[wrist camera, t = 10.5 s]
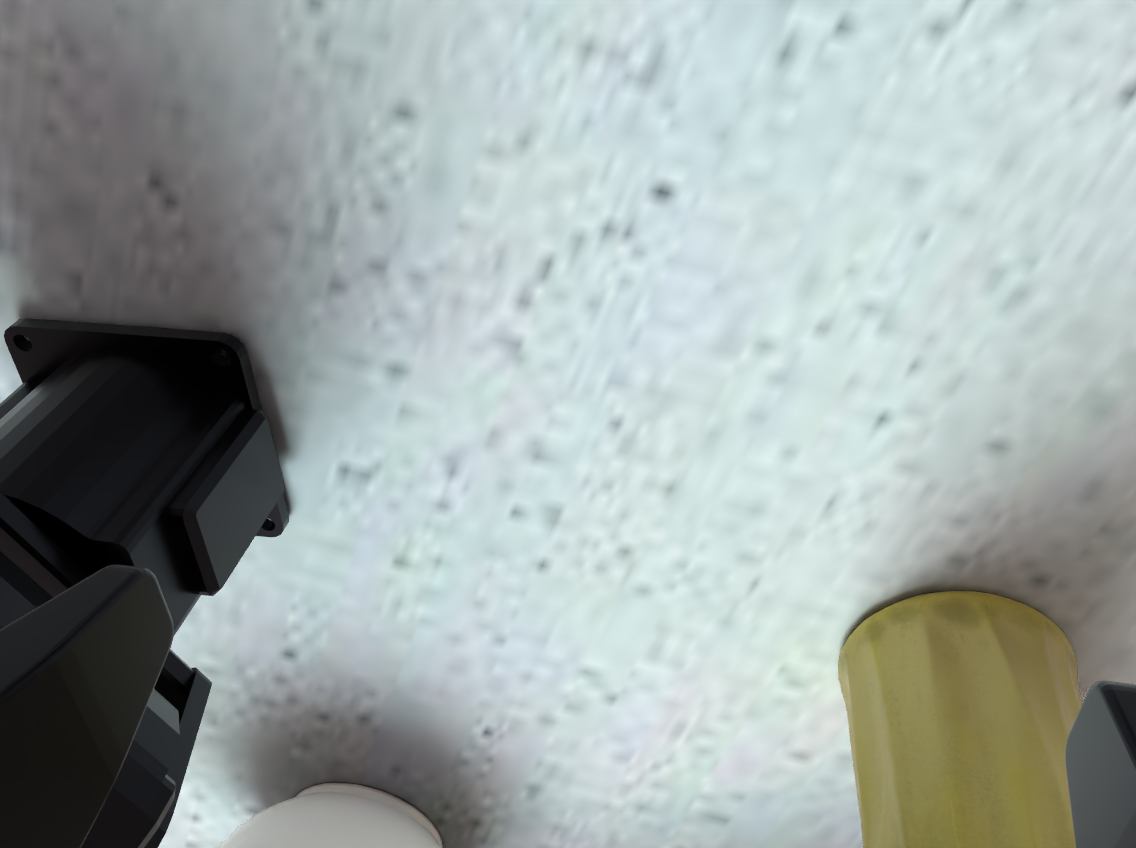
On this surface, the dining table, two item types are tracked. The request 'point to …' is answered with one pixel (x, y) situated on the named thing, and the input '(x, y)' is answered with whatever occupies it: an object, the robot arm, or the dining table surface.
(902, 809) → the vase
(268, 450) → the robot arm
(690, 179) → the dining table surface
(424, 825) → the lidded jar
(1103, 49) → the dining table surface
